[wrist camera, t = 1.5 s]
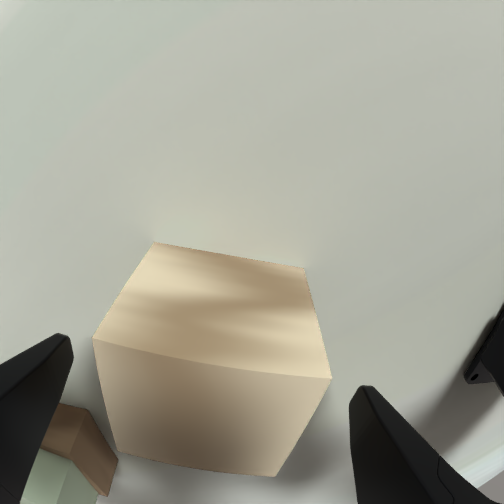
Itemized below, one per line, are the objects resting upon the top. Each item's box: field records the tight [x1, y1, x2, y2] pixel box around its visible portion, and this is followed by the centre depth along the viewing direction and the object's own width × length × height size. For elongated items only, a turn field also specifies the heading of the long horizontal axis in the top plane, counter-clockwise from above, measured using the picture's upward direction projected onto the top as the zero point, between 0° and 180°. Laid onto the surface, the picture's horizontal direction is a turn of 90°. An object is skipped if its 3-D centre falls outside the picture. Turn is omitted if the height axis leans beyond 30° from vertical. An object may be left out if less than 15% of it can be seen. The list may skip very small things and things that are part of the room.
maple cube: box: [92, 242, 332, 477], centre depth 9 cm, size 5×5×5 cm
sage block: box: [20, 449, 98, 504], centre depth 11 cm, size 5×5×4 cm
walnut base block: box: [40, 403, 118, 497], centre depth 15 cm, size 6×6×4 cm
